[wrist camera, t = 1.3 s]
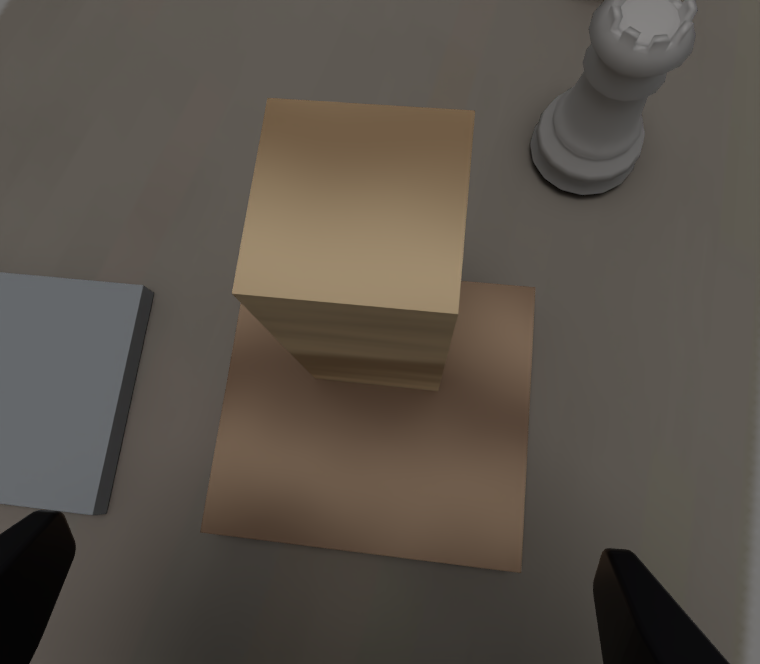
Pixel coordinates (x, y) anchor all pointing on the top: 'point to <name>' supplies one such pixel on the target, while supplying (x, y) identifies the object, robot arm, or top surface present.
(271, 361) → the walnut ledge
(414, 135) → the oak block
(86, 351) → the slate tile
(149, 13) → the top surface
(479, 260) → the top surface
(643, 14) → the rook chess piece
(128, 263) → the top surface
